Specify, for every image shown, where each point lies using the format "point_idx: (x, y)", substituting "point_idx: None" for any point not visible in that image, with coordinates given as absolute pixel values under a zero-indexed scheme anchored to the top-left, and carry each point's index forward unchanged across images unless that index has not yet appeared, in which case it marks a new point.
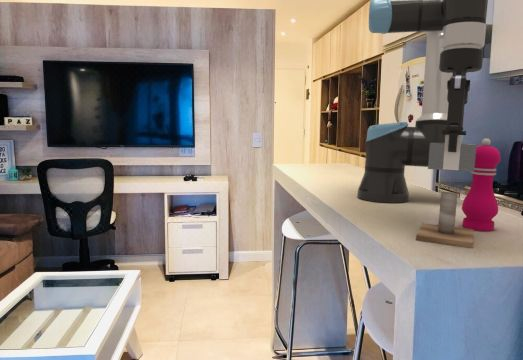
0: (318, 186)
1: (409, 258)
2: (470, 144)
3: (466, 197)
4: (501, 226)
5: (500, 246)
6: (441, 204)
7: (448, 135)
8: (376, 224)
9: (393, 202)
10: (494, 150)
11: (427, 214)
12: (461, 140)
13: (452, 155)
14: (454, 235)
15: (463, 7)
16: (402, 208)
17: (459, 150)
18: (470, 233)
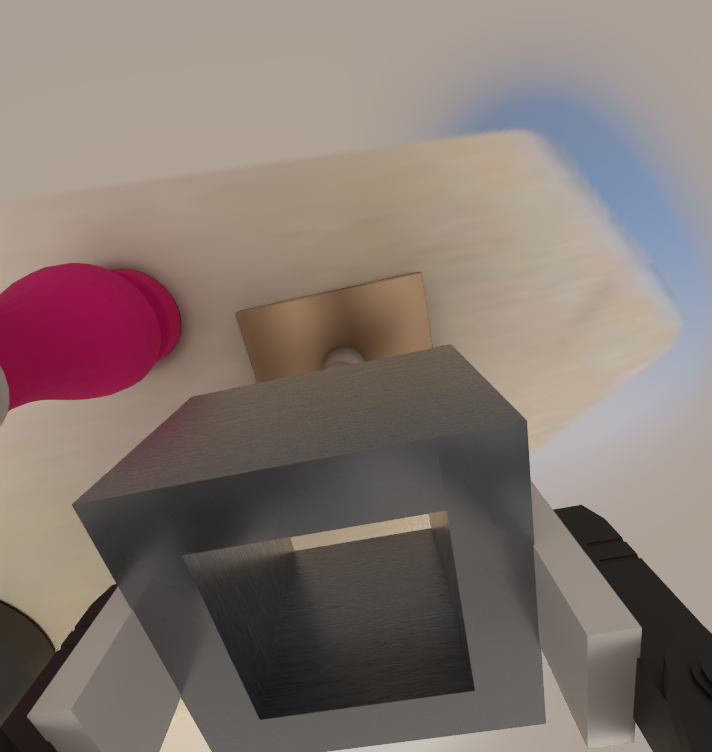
0: None
1: (617, 369)
2: (354, 502)
3: (98, 391)
4: (29, 258)
5: (337, 209)
6: None
7: (631, 715)
8: (340, 534)
9: (8, 607)
10: None
11: (77, 486)
12: (116, 647)
13: None
14: (368, 337)
15: None
16: (61, 562)
17: (544, 503)
18: (305, 306)
